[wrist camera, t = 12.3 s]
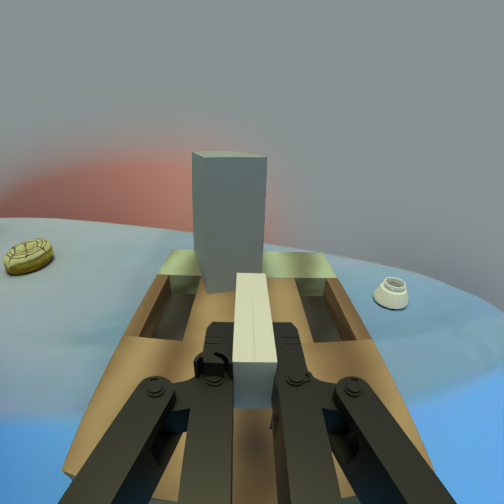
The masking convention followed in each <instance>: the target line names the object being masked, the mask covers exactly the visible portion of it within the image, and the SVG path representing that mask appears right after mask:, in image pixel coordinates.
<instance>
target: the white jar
mask: <svg viewBox="0 0 504 504" xmlns="http://www.w3.org/2000/svg"><path fill="white" fill-rule="evenodd" d="M373 297H374V300H375V301H376V302H377V303H378V304H380V305H382V306H384V307H387V308H390V309H402V308H405V307H406V306H407V305H408V301H409V299H408V293H407V289H406V284H405V282H404V281H402V280H401V279H398V278H394V277H388V278H386V279H385V280H384V282H383V283H381V284H380V285H379V287H378V288H377V289H376V290H375V292H374V294H373Z"/></svg>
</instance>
